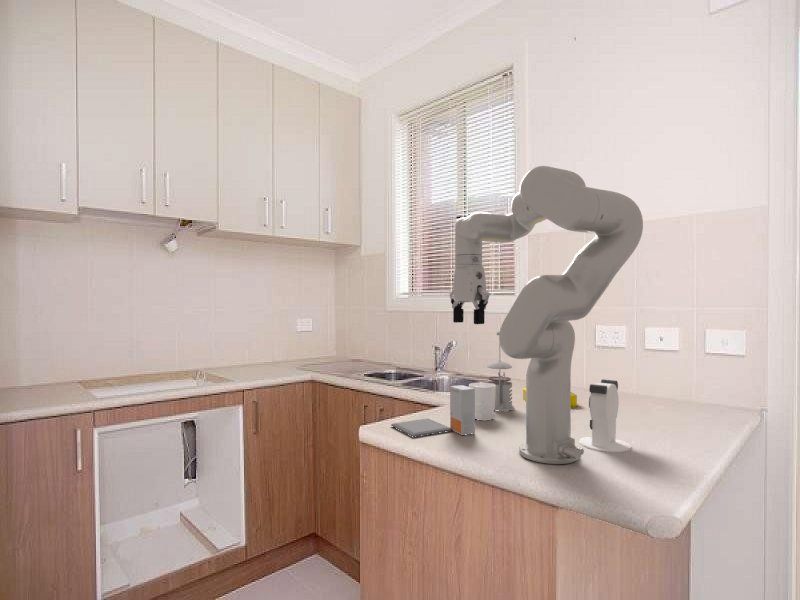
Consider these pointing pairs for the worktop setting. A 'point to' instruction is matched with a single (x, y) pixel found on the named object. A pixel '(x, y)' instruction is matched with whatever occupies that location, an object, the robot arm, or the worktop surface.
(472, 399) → the skincare box
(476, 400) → the white cup
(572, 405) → the element tile
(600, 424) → the panda figurine
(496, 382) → the french press
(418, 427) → the tray
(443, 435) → the worktop surface
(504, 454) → the worktop surface
